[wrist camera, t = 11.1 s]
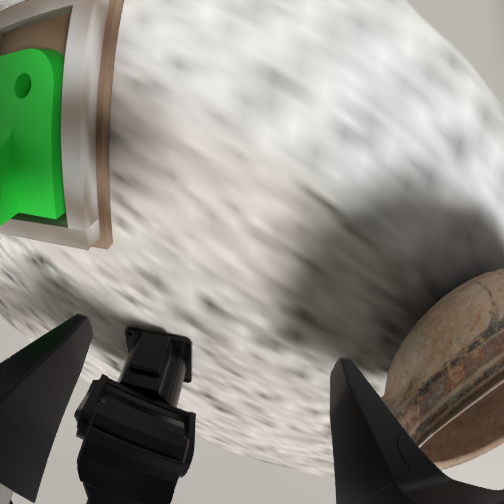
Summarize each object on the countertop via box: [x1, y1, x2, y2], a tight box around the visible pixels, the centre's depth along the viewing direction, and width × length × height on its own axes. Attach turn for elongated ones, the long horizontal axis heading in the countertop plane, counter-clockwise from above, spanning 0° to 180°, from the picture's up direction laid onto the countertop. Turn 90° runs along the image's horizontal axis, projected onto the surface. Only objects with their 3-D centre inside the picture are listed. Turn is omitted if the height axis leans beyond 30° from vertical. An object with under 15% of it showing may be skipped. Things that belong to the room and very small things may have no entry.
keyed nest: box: [0, 0, 124, 250], centre depth 16 cm, size 20×13×3 cm, turn 172°
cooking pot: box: [381, 268, 504, 470], centre depth 19 cm, size 25×19×12 cm
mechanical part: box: [0, 49, 66, 226], centre depth 13 cm, size 12×6×8 cm, turn 170°
